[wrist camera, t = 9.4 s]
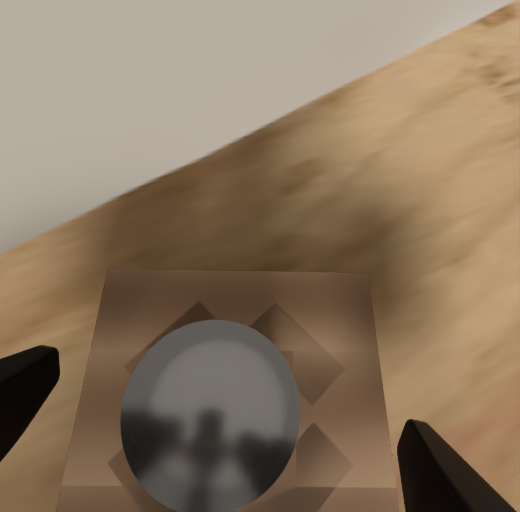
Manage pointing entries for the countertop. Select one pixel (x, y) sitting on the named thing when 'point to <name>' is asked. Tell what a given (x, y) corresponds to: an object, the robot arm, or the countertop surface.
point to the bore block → (294, 351)
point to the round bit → (210, 417)
